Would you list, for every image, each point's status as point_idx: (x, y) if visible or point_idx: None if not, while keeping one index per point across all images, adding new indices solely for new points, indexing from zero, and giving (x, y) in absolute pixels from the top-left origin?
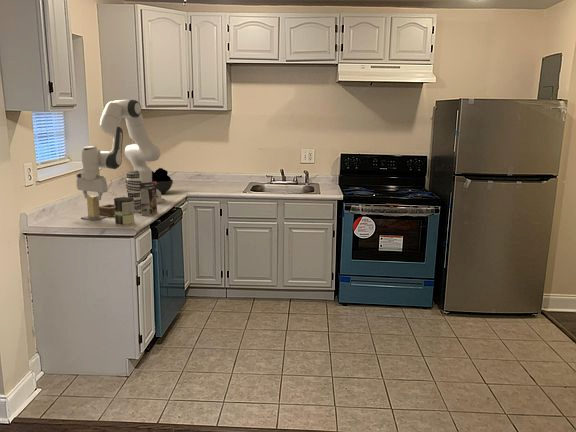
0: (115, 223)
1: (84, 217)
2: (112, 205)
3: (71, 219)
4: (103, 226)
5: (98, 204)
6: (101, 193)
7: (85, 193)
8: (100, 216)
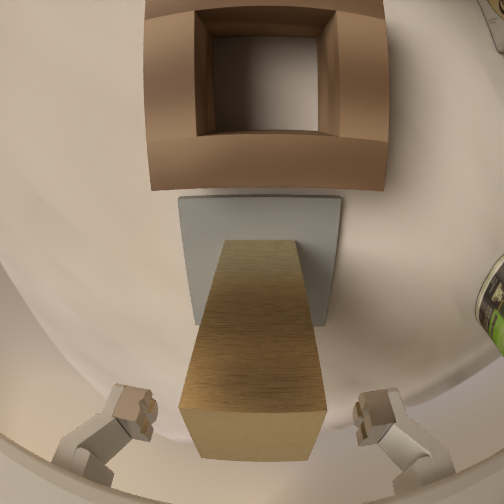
0: (481, 325)
1: None
2: (249, 7)
3: (171, 350)
4: (440, 365)
5: (308, 319)
6: (439, 463)
7: (106, 448)
8: (293, 230)
